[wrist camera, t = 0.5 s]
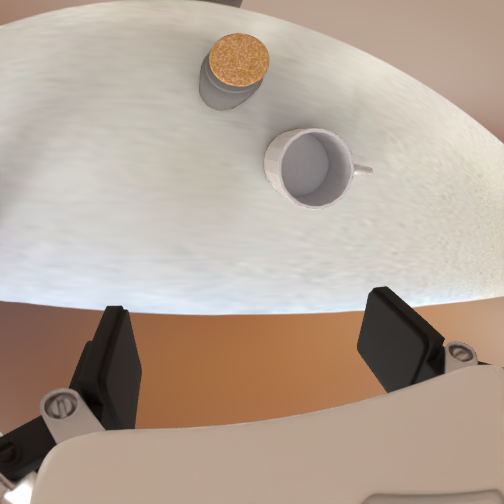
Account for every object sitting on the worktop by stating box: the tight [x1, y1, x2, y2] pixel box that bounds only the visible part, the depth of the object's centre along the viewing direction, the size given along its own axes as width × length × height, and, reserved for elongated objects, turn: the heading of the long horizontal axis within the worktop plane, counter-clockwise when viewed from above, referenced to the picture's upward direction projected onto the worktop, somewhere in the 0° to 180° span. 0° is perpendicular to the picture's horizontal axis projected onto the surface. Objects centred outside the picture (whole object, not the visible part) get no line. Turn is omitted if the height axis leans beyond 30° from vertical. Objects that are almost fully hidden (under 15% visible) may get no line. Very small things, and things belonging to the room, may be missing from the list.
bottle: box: [199, 33, 269, 110], centre depth 27 cm, size 6×6×15 cm
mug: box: [264, 128, 373, 209], centre depth 36 cm, size 13×9×7 cm
